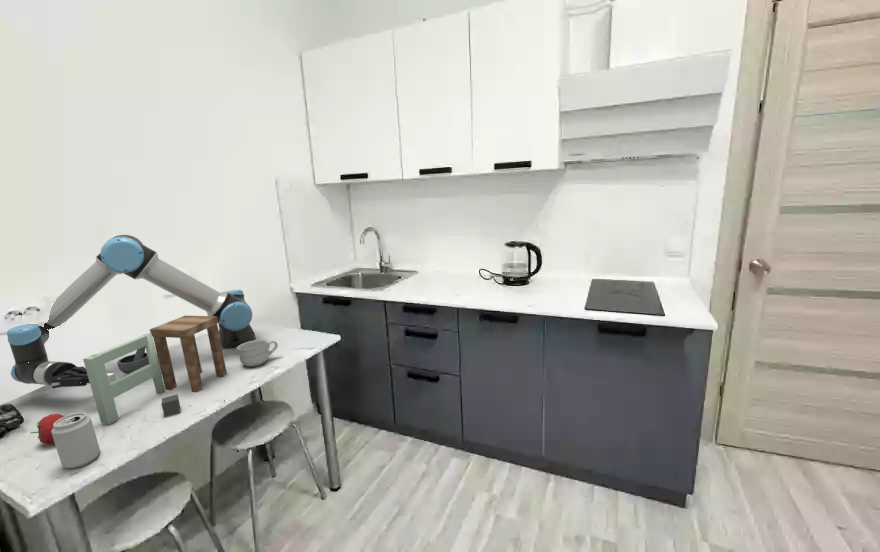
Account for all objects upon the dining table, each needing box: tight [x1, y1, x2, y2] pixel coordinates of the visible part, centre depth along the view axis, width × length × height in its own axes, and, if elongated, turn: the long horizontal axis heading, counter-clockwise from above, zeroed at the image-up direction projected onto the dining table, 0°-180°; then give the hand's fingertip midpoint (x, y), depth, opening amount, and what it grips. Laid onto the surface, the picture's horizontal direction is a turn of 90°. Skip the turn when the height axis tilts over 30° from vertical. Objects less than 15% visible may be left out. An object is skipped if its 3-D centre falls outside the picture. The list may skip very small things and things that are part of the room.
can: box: [51, 412, 101, 469], centre depth 103 cm, size 8×8×12 cm
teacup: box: [236, 339, 278, 367], centre depth 157 cm, size 14×11×8 cm
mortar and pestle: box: [116, 346, 150, 375], centre depth 152 cm, size 11×9×12 cm
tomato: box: [30, 413, 66, 445], centre depth 113 cm, size 8×8×8 cm
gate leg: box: [82, 333, 166, 425], centre depth 127 cm, size 20×3×21 cm, turn 166°
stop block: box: [161, 393, 181, 418], centre depth 125 cm, size 4×4×4 cm
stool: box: [149, 315, 228, 393], centre depth 142 cm, size 14×14×22 cm
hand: (113, 378), depth 127 cm, fingers closed
